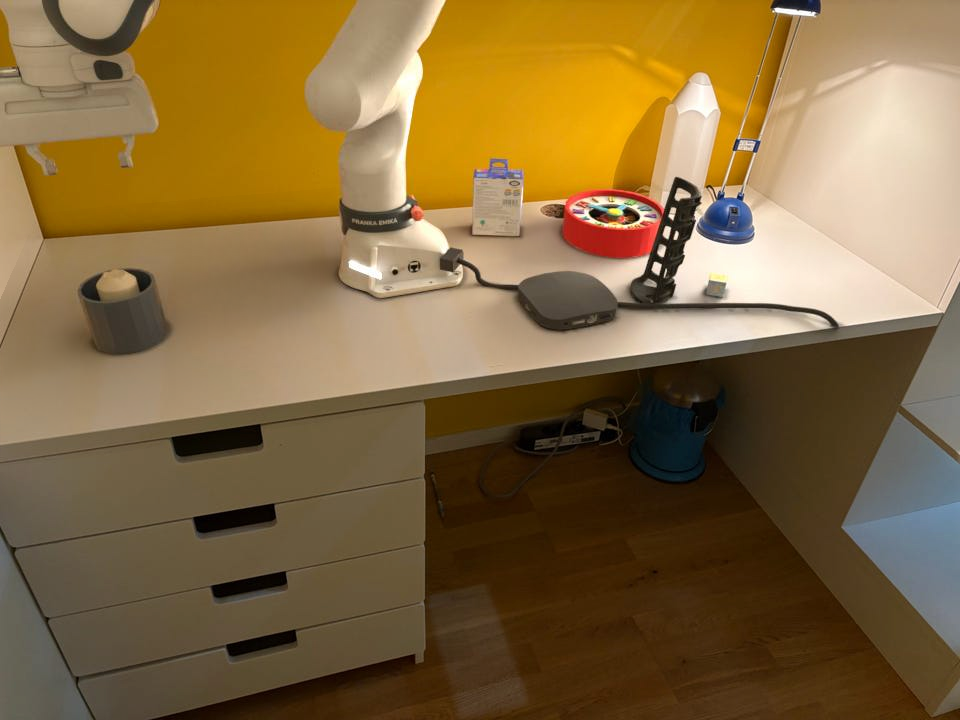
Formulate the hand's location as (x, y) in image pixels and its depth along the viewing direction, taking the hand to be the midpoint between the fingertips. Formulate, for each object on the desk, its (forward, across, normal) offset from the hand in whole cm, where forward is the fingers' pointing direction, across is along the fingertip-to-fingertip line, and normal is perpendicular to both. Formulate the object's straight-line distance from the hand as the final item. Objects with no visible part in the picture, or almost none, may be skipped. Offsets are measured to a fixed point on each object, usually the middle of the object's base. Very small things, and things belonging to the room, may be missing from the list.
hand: (90, 170), depth 100 cm
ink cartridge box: (+27, +68, +18) cm, 75 cm away
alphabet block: (+28, +96, -17) cm, 101 cm away
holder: (+28, +85, -14) cm, 91 cm away
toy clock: (+27, +90, +9) cm, 94 cm away
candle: (+26, -1, -1) cm, 26 cm away
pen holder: (+26, -1, -1) cm, 26 cm away
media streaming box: (+27, +68, -13) cm, 75 cm away
